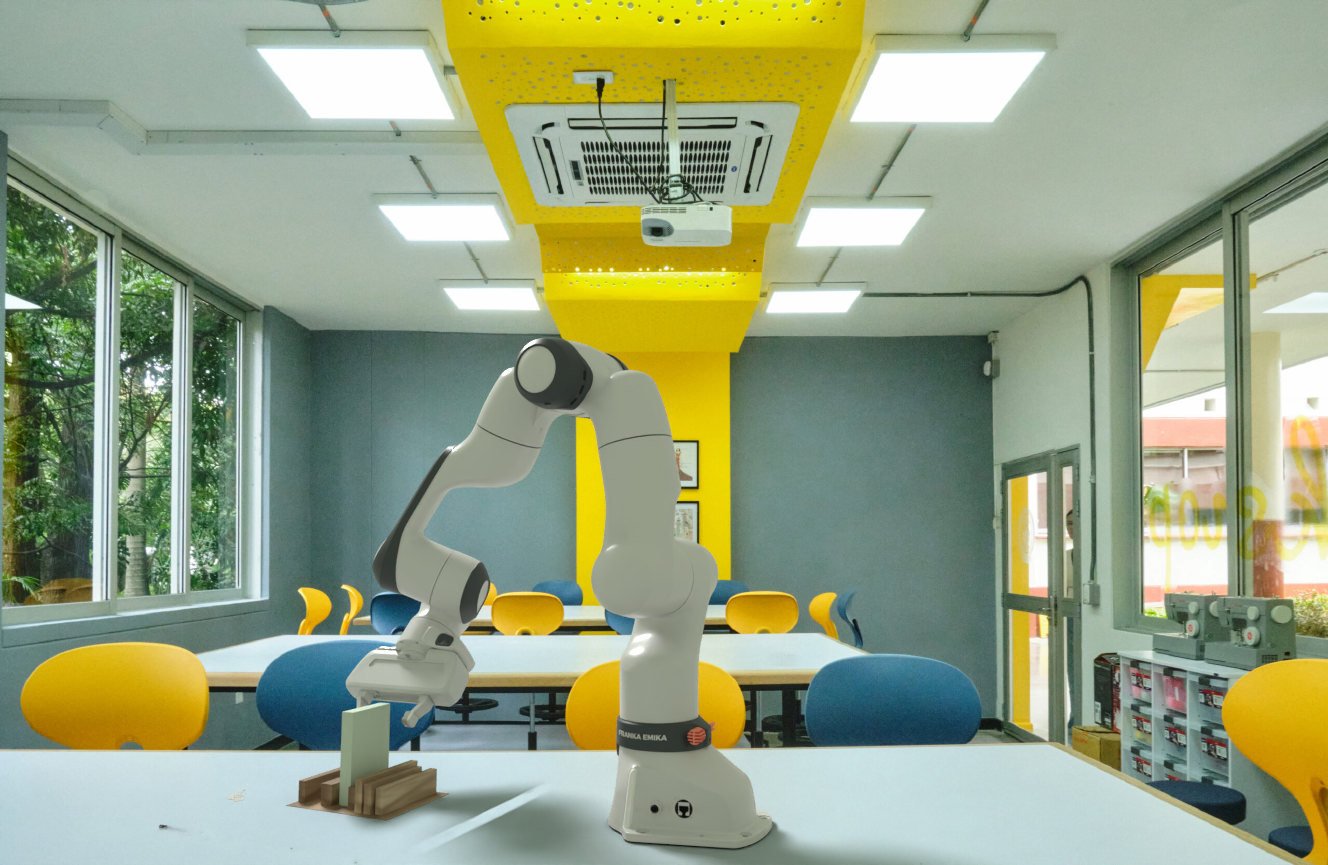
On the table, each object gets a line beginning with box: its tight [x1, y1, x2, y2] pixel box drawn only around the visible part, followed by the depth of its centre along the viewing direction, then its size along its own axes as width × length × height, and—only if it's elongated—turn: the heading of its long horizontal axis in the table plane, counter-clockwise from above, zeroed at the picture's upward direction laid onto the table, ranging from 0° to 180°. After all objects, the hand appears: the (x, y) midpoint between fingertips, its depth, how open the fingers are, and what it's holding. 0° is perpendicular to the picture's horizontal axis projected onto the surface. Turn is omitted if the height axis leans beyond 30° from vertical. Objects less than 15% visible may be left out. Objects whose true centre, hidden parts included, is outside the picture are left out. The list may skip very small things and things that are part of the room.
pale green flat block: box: [339, 702, 391, 806], centre depth 135 cm, size 2×8×13 cm, turn 157°
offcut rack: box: [285, 759, 450, 821], centre depth 134 cm, size 18×14×6 cm
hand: (381, 722), depth 139 cm, fingers open, 8 cm apart
